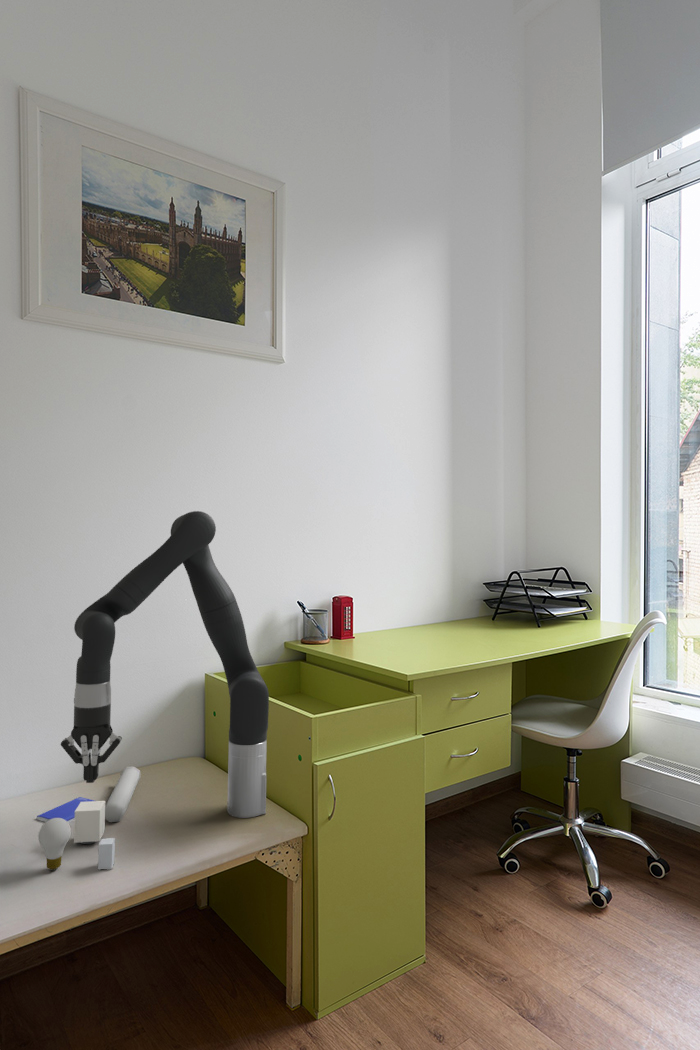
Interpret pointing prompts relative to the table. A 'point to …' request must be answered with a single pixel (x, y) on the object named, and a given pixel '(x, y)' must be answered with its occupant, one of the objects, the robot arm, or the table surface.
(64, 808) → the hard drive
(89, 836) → the off-white rectangular block
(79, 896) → the table surface
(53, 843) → the light bulb
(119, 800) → the tube
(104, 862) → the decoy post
